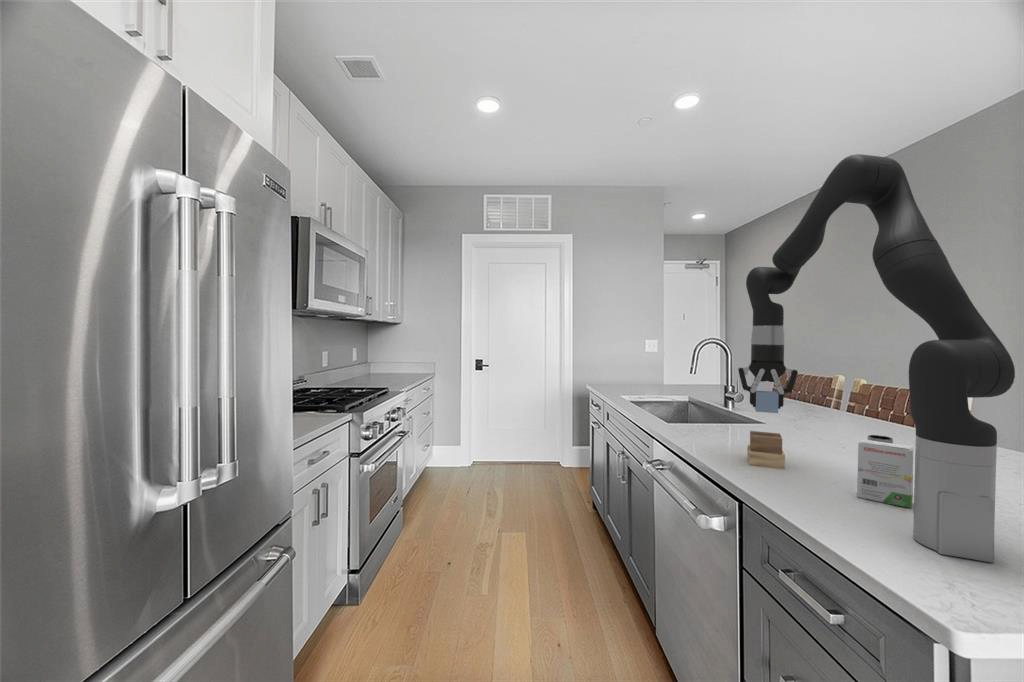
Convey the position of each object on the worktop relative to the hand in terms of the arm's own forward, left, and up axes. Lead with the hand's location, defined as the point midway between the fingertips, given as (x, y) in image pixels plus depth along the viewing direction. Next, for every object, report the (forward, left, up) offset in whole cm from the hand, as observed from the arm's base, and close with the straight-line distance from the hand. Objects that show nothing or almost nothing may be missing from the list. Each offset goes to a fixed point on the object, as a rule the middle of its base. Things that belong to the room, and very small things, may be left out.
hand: (766, 407), depth 117 cm
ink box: (-19, -20, -15) cm, 31 cm away
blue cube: (0, 0, -1) cm, 1 cm away
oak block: (0, 0, -15) cm, 15 cm away
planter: (-4, -23, -15) cm, 28 cm away
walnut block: (0, 0, -11) cm, 11 cm away
